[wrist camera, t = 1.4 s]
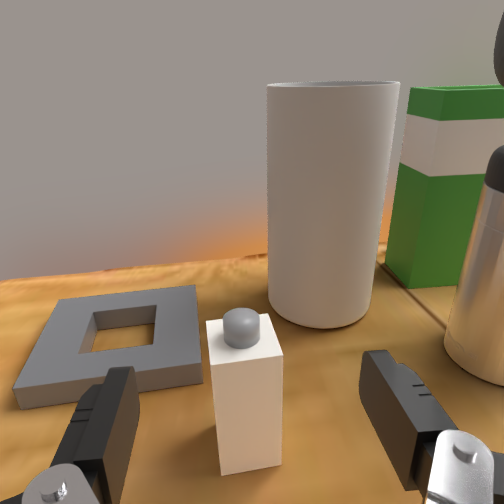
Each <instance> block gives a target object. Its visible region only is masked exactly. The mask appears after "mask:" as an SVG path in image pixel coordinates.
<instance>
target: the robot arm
mask: <svg viewBox="0 0 504 504" xmlns="http://www.w3.org/2000/svg"><path fill="white" fill-rule="evenodd" d="M494 69H495V74H496V76H497V79H498V81H499V83H500V84H501V85H502V86H503V87H504V13H503V15H502V18H501V21H500V24H499V28H498V31H497V36H496V41H495V48H494ZM444 347H445V349H446V351H447V353H448V354H449V356H450V357H451V358H452V359H453V360H454V361H455V362H456V363H457V364H458V365H459V366H460V367H462V368H463V369H465V370H466V371H468V372H469V373H471V374H473V375H475V376H477V377H479V378H481V379H483V380H486V381H488V382H491V383H494V384H498V385H501V386H504V145H502V146H500V147H499V148H497V149H496V150H495V151H494V152H493V153H492V155H491V157H490V159H489V162H488V166H487V170H486V174H485V178H484V181H483V185H482V189H481V193H480V197H479V201H478V205H477V209H476V214H475V218H474V222H473V226H472V230H471V233H470V237H469V241H468V245H467V249H466V253H465V257H464V261H463V265H462V269H461V273H460V277H459V281H458V285H457V289H456V293H455V297H454V301H453V305H452V308H451V313H450V317H449V321H448V325H447V329H446V333H445V337H444ZM359 394H360V399H361V402H362V405H363V407H364V409H365V411H366V413H367V415H368V417H369V419H370V421H371V423H372V425H373V427H374V429H375V431H376V433H377V435H378V437H379V439H380V441H381V443H382V445H383V447H384V449H385V451H386V453H387V455H388V457H389V459H390V461H391V463H392V465H393V467H394V469H395V471H396V473H397V475H398V477H399V479H400V481H401V483H402V485H403V487H404V489H405V491H411V490H419V491H420V493H421V495H422V497H423V500H422V504H504V454H501V453H496V452H492V451H490V450H489V448H488V447H487V446H486V445H485V444H484V443H483V442H482V441H481V440H479V439H478V438H477V437H475V436H473V435H471V434H469V433H467V432H464V431H460V430H459V429H458V428H457V427H456V425H455V424H454V423H453V421H452V420H451V419H450V417H449V416H448V415H447V413H446V412H445V411H444V409H443V408H442V407H441V405H440V404H439V403H438V401H437V400H436V399H435V397H434V396H432V393H431V392H430V391H429V389H428V388H427V387H426V386H425V384H424V383H423V381H422V380H421V379H420V377H419V376H418V375H417V373H416V372H414V371H413V370H411V369H410V368H409V367H407V366H406V365H405V364H403V363H401V364H397V363H396V362H395V360H394V359H393V358H392V356H391V355H390V353H389V352H388V351H387V350H374V351H365V352H364V353H363V357H362V365H361V372H360V380H359ZM139 414H140V402H139V395H138V388H137V382H136V375H135V369H134V367H133V366H125V367H111V368H109V370H108V372H107V375H106V378H105V380H104V383H103V384H93V385H92V386H91V387H90V388H89V389H88V390H87V391H86V392H85V393H84V394H83V395H82V396H81V398H80V400H79V402H78V405H77V407H76V409H75V412H74V414H73V416H72V418H71V420H70V424H69V425H68V427H67V429H66V432H65V434H64V436H63V438H62V440H61V443H60V445H59V447H58V449H57V452H56V454H55V456H54V458H53V461H52V463H51V465H50V467H49V468H48V469H46V470H44V471H43V472H41V473H40V474H38V475H37V476H36V477H35V478H34V479H33V480H32V481H31V482H30V483H29V485H28V486H27V488H26V489H25V491H24V492H23V493H21V494H19V495H17V496H14V497H12V498H9V499H6V500H4V501H1V502H0V504H119V503H120V499H121V494H122V490H123V486H124V482H125V477H126V473H127V469H128V464H129V460H130V456H131V451H132V447H133V443H134V439H135V434H136V430H137V426H138V421H139Z"/></svg>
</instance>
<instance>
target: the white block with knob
mask: <svg viewBox="0 0 504 504" xmlns="http://www.w3.org/2000/svg"><path fill="white" fill-rule="evenodd" d="M206 328H207V338H208V349H209V359H210V369H211V380H212V390H213V401H214V411H215V422H216V431H217V441H218V451H219V460H220V470H221V476H224V475H230V474H235V473H240V472H246V471H251V470H257V469H262V468H267V467H273V466H278V465H282V404H283V353H282V350H281V347H280V345H279V342H278V339H277V336H276V334H275V331H274V328H273V326H272V323H271V320H270V317H269V315H268V313H266V314H258V313H257V312H256V311H254V310H252V309H249V308H235V309H232V310H230V311H228V312H226V313H225V314H224V316H223V319H218V320H210V321H206Z"/></svg>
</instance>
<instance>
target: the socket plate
mask: <svg viewBox="0 0 504 504" xmlns="http://www.w3.org/2000/svg"><path fill="white" fill-rule="evenodd" d="M151 323H155V329H154V340H153V344H151V345H143V346H136V347H128V348H120V349H113V350H105V351H97V352H91V349H92V346H93V343H94V339H95V336H96V333H97V330H102V329H110V328H118V327H126V326H135V325H143V324H151ZM125 366H133V367H134V369H135V375H136V382H137V388H138V393H139V392H145V391H152V390H159V389H166V388H172V387H179V386H186V385H193V384H199V383H203V371H202V359H201V346H200V333H199V320H198V307H197V296H196V287H195V285H188V286H179V287H170V288H161V289H152V290H143V291H134V292H125V293H115V294H106V295H97V296H88V297H79V298H70V299H61V300H59V301H58V303H57V305H56V307H55V308H54V310H53V312H52V314H51V316H50V318H49V320H48V322H47V324H46V326H45V327H44V329H43V331H42V333H41V335H40V337H39V339H38V341H37V343H36V345H35V346H34V348H33V350H32V352H31V354H30V356H29V358H28V360H27V362H26V364H25V365H24V367H23V369H22V371H21V373H20V375H19V377H18V379H17V381H16V383H15V384H14V386H13V388H12V390H13V392H14V395H15V397H16V399H17V402H18V404H19V407H20V409H21V410H24V409H30V408H37V407H44V406H51V405H57V404H64V403H71V402H78V401H79V400H80V398H81V396H82V395H83V394H84V393H85V392H86V391H87V390H88V389H89V388H90V387H91V386H92V385H93V384H103V383H104V380H105V378H106V375H107V372H108V370H109V368H111V367H125Z"/></svg>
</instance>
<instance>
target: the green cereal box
mask: <svg viewBox="0 0 504 504" xmlns="http://www.w3.org/2000/svg"><path fill="white" fill-rule="evenodd" d="M502 145H504V87H503V86H502V85H474V86H443V87H415V88H414V87H412V88H411V89H410V96H409V102H408V109H407V116H406V123H405V129H404V136H403V143H402V150H401V156H400V163H399V170H398V177H397V183H396V190H395V196H394V203H393V210H392V217H391V223H390V230H389V237H388V244H387V250H386V257H385V264H386V265H387V266H388V267H389V268H390V269H391V271H392V272H393V273H394V274H395V275H396V276H397V277H398V278H399V279H400V280H401V282H402V283H403V284H404V285H405V286H406V287H407V288H408V289H414V288H427V287H440V286H453V285H458V281H459V277H460V273H461V269H462V265H463V261H464V257H465V253H466V249H467V245H468V241H469V237H470V233H471V230H472V226H473V222H474V218H475V214H476V209H477V205H478V201H479V197H480V193H481V189H482V185H483V181H484V178H485V174H486V170H487V166H488V162H489V159H490V157H491V155H492V153H493V152H494V151H495V150H496V149H497V148H499V147H500V146H502Z"/></svg>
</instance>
